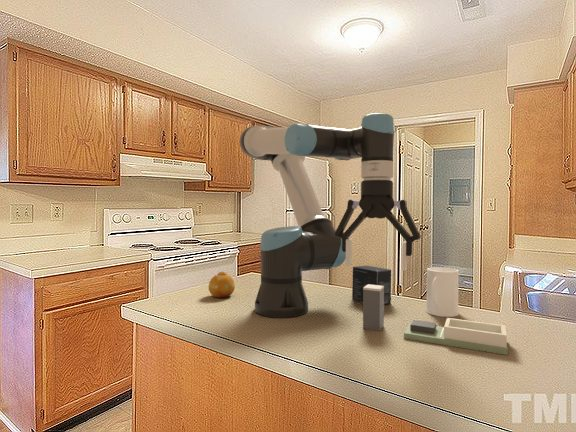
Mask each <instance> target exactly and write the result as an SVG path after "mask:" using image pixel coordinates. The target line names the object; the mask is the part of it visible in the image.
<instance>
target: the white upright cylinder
mask: <svg viewBox="0 0 576 432" xmlns="http://www.w3.org/2000/svg"><path fill="white" fill-rule="evenodd" d="M459 271H460V270H459V269H457V268H453V267H447V266H445V267H444V266H431V267H428V268H426V306H425V312H426V313H427V314H429V315H433V316H435V317H442V318H443V317H444V318H454V317H458V316H459V315H460V311H459V275H460V274H459V273H460V272H459Z"/></svg>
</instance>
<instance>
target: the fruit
mask: <svg viewBox="0 0 576 432" xmlns="http://www.w3.org/2000/svg"><path fill="white" fill-rule="evenodd" d="M235 286H236V285H235V281H234V278H232V276H231V275H228V274H227V273H226V272H224V271H219V272H218V274H216V275H213V277H211V278H210V280H209V283H208V292H209V294H211V295H212V296H213V297H214V298H219V297H223V298H228V297H230V296H231V295H232V294H233V293H234V291H235V289H236V287H235Z"/></svg>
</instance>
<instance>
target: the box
mask: <svg viewBox="0 0 576 432" xmlns="http://www.w3.org/2000/svg"><path fill="white" fill-rule="evenodd" d="M368 284H370V285H380V286H384V306H385V305H389V304H391V303H392V299H391V297H392V293H391V292H392V269H390V268H383V267H377V266H371V265H357V266H353V267H352V292H351V293H352V294H351V297H352V300H353V301H357V302H360V303H362V304H363V287H365V286H366V285H368Z"/></svg>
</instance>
